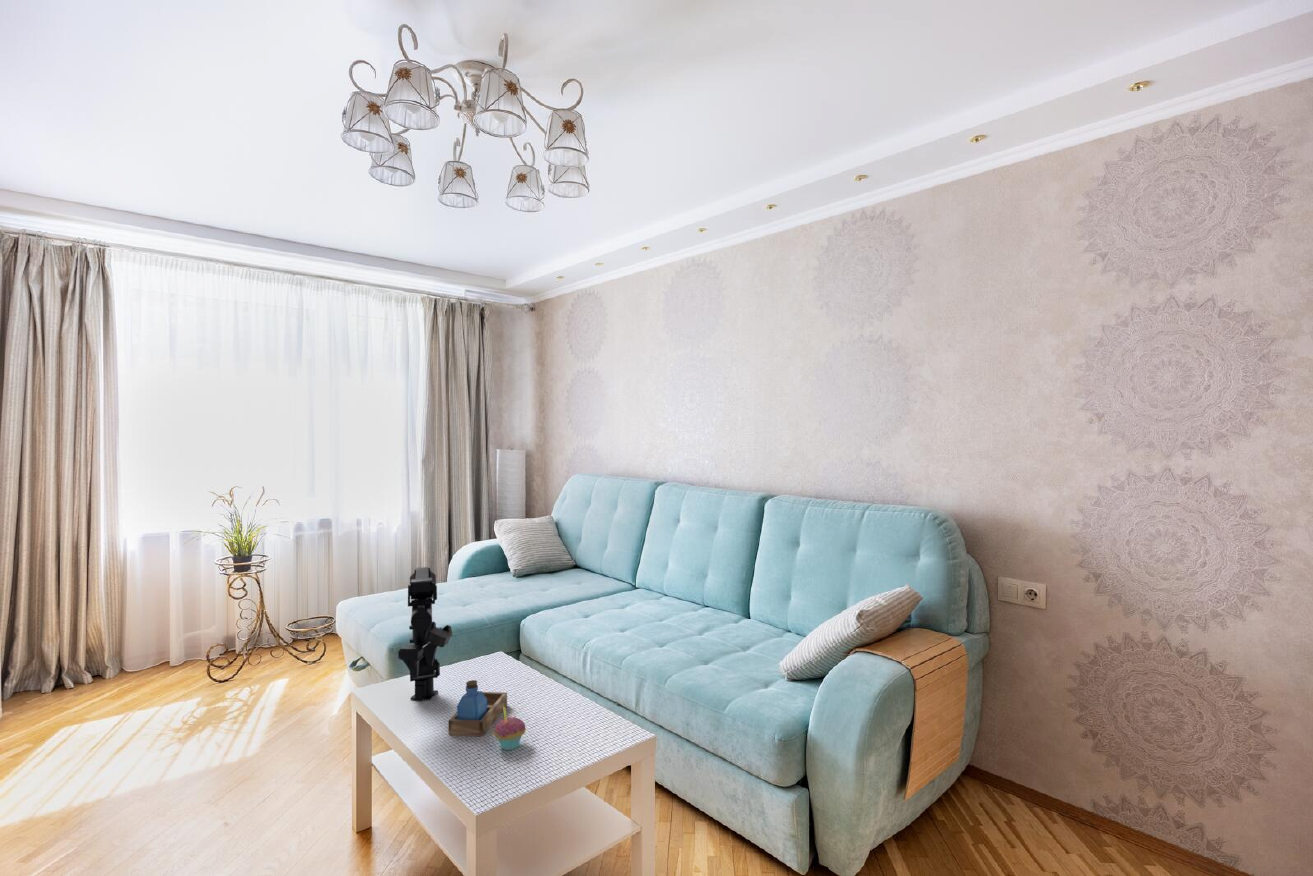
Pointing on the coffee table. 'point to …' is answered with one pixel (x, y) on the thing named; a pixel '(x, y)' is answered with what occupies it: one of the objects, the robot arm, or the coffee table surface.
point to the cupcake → (509, 731)
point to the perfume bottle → (472, 703)
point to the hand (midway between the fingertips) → (423, 671)
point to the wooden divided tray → (481, 726)
